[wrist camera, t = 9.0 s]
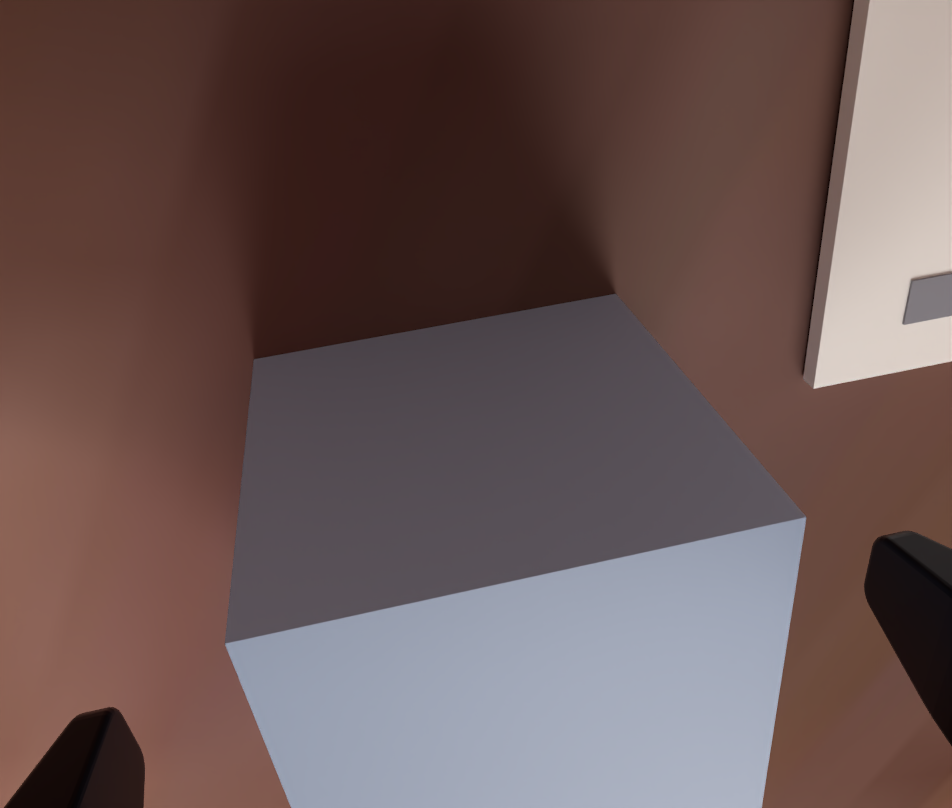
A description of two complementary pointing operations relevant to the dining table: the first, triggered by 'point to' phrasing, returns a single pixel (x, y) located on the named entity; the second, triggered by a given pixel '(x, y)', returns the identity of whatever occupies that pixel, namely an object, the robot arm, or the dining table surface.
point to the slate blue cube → (508, 572)
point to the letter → (888, 200)
